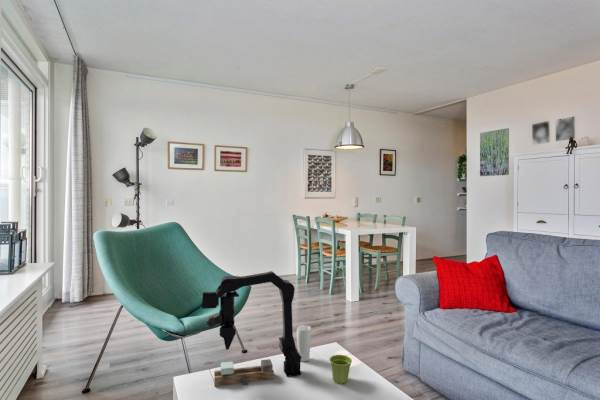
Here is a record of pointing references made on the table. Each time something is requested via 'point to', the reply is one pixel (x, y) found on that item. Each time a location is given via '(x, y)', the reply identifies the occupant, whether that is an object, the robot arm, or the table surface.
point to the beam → (246, 374)
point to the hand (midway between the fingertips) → (227, 344)
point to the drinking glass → (304, 341)
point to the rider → (227, 368)
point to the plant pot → (340, 368)
